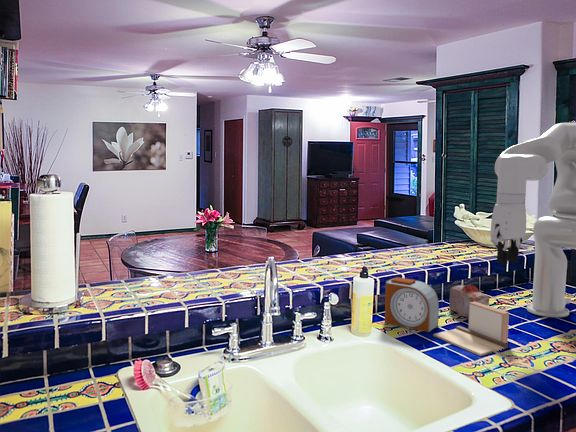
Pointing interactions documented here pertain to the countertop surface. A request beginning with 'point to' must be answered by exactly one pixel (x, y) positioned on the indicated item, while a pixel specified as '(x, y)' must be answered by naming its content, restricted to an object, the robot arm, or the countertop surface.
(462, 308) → the food item
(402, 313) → the alarm clock
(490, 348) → the tan flat rectangular panel
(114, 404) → the countertop surface
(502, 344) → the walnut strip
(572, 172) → the robot arm
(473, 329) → the tile
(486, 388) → the countertop surface
